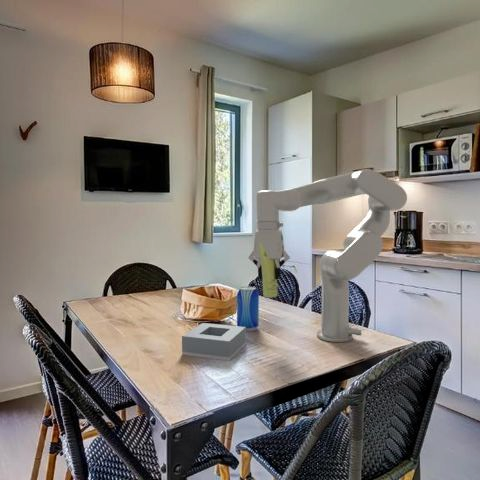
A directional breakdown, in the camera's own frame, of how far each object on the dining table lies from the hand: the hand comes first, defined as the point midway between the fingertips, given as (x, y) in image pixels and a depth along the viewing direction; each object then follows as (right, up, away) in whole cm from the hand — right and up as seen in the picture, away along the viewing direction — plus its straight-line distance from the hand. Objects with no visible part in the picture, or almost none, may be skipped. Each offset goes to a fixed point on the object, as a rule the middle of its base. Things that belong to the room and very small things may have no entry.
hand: (269, 278), depth 137 cm
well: (-18, -23, -7) cm, 30 cm away
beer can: (-7, -21, +16) cm, 28 cm away
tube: (0, -7, 0) cm, 7 cm away
